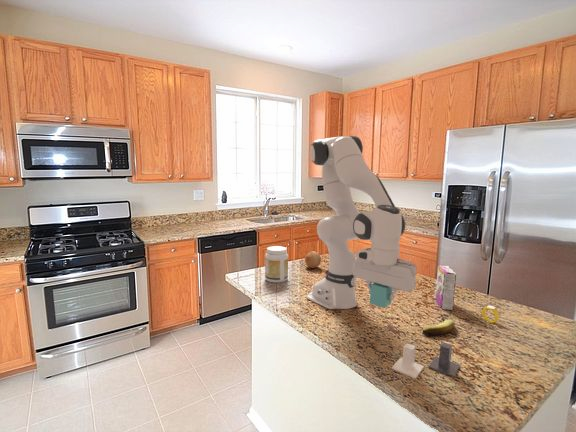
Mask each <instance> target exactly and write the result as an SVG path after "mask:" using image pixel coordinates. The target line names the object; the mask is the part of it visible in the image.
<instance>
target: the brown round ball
mask: <svg viewBox="0 0 576 432" xmlns="http://www.w3.org/2000/svg"><path fill="white" fill-rule="evenodd" d="M304 263H305V265H306V266H307V267H308V268H311V269H315V268H318V267H319V266H321V263H322V257H321V255H320V254H319V252H317V251H315V250H311V251H309V252H308V253H307V254H306V255H305V257H304Z"/></svg>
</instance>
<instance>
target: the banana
mask: <svg viewBox="0 0 576 432" xmlns="http://www.w3.org/2000/svg"><path fill="white" fill-rule="evenodd" d="M441 320H442V322H441V323H438V324H437V325H430V326H429V325H428V326H426V327H424V328H423V329H422V330H421V331H422V332H421V333H422V334H424V335H427V336H428V337H440V336H443V335H446V334H448V333H450V332H451V331H452V330H453V329H454V327H455V322H454V321H453V320H451V319H445V318H444V317H441ZM387 329H389V330H390V331H391V332H394V333H396V334H398V335H401V333H402V334H404V335H406V332H405V331H402V330H396V329H398V328H397V326H394V325H392V324H387ZM482 333H483V331H481V332H480V338H481V339H482V338H483V335H482ZM415 341H416V343H422V344H423V343H424V341H422V340H415Z"/></svg>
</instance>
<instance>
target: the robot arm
mask: <svg viewBox="0 0 576 432" xmlns="http://www.w3.org/2000/svg"><path fill="white" fill-rule="evenodd" d="M309 149H310V150H309V156H310V157H309V158H310V160H311V162H312V163H313V164H314V165H316V166H322V167H321V180H322V187H323V193H324V198H325V203H326V205H327V206H328V207H329V208H331V209H333V211H334V212H335V214H336V215H331V216H328V217H325V218H321V219H320V220H319V222H318V223H317V226H316V233H317V235H318V238H319V239H320V240H321V241H322V242H323V243H325V245H326V248H327V250H328V257H329V262H328V263H329V264H328V267H329V268H328V269H327V270H326V271H324V272H323V275H325V277H324V278H322V279H320V280H319V281H317V282H315V284H313V286H312V291H311V292H309V293H308V294H307V297H306V299H308V300H310V301H311V302H313V303H316V304H318V305H320V306H322V307H324V308H326V309H328V310H338V309H339V310H347V309H348V310H349V309H353V308H355V307H356V306H357V305H358V302H357V297H356V290H355V289H356V288H355V286H356V279H359V280H364V281H365V284H366V286H367V289H368V294H370V292H371V284H373V283H377V284H381V285H384V286H388V287H392V293H390V294H388V300H391V302H392V301H394V300H395V295H396V293H397V292H398V291H399V290H400V291H403V292H405V293H410V292H412V291H414V290H415V288H416V275H417V273H418V272H417V270H418V267H417V266H416V264H415V263H413V261H409V260H408V261H407V260H403V259H400V250H401V249H400V248H401V246H400V239H401V237H402V236H403V234H404V232H405V230H406V225H407V224H406V221H405V218H404V216H403V215H402V212H401V210H400V209H399V208H398V207H396V206H395V204H394V202H393V200H392V198H391V197H390V195H389V193H388V191H387V189H386V187H385V185H384V184H383V182H382V181H381V179H380V177H379V176H378V175H377V174H375V173H374V172H373V171H372V170H371V168H370V167H369V166H368V164H367V163H366V161H365V159H364V156H363V149H364V147H363V143H362V140H361V139H360V137H358V136H356V135H349V136H344V135H343V136H334V137H327V138H324V139H316V140H314V141H313V142H312V143H311V144H310V148H309ZM351 188H352V189H356V190H357V191H358V190H359V191H361V192H363V193H366V194H367V195H368V196H369V197H370V198H371V199H372V201H373V203H374V205H375V208H373V209H371V210H369V211H364V212H360V211H359V209H358V208H357V206H356V204H355V202H354V199H353V197H352V193H351ZM357 239H359V240H363V241H371V244H370V247H368V248H367V247H366V248H363V249H360V250H358V251H356V254H355V253H354V251H352V250H351V249H349V247H348V241H351V240H352V241H353V240H357Z"/></svg>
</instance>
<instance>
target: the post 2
mask: <svg viewBox="0 0 576 432" xmlns="http://www.w3.org/2000/svg"><path fill="white" fill-rule="evenodd" d="M452 350H453V345H452V344H449V343H447V342H443V341H442V342H441V344H440V345H439V354H438V355H439V356H436V355H435V356H434V357H433V359H432V360H431V361H430V364H429V365H428V369H430V370H433V371H436V372H438V373H441V374H443V375H447V376H449V377H451V378H455V376H456V374H457V373H458V371H459V368H460V367H461V365H460V364H458V363H456V362H453V361H451V360H452Z"/></svg>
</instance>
